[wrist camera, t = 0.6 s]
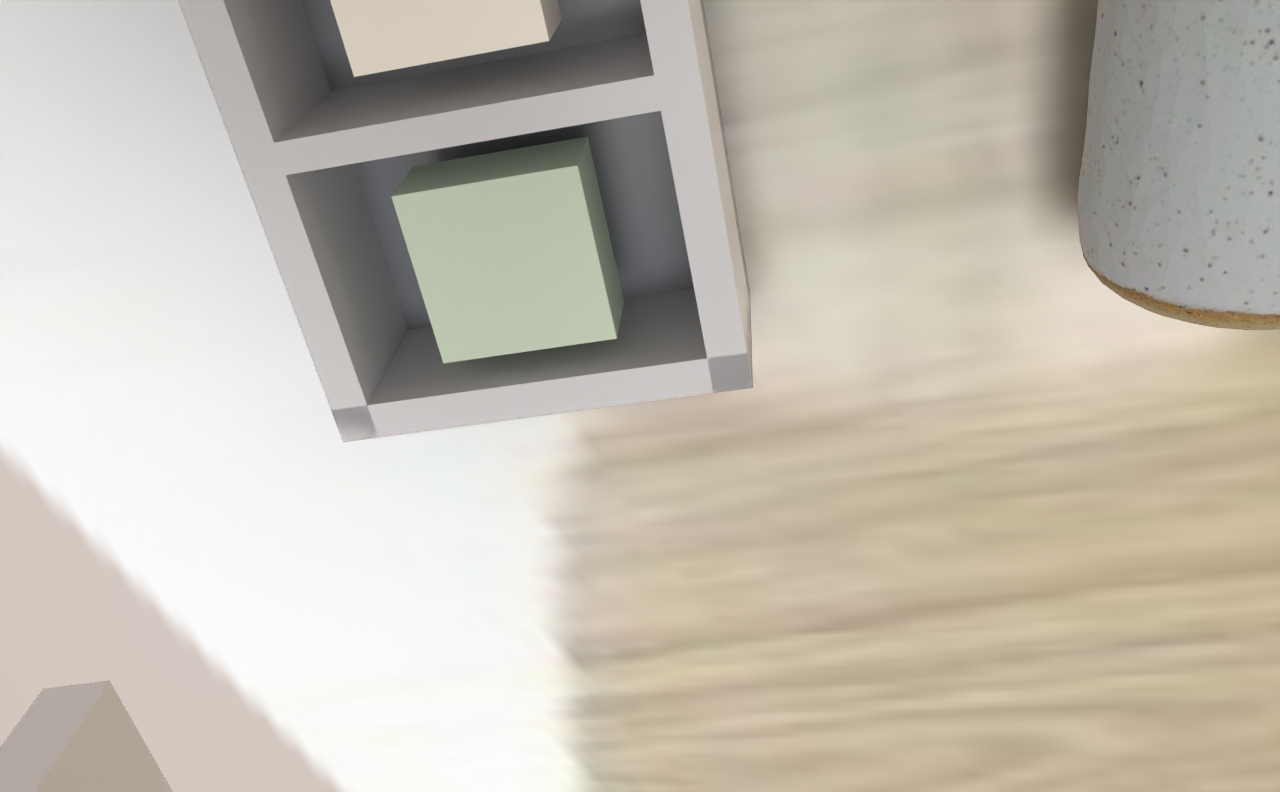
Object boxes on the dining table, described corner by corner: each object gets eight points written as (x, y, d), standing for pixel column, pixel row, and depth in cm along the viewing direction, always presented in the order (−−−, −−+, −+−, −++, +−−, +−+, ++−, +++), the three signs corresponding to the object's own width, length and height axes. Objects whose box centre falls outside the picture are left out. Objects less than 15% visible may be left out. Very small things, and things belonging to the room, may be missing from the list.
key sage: (413, 166, 30) (391, 196, 28) (587, 136, 29) (577, 165, 27) (460, 325, 32) (443, 363, 30) (624, 301, 31) (616, 338, 29)
